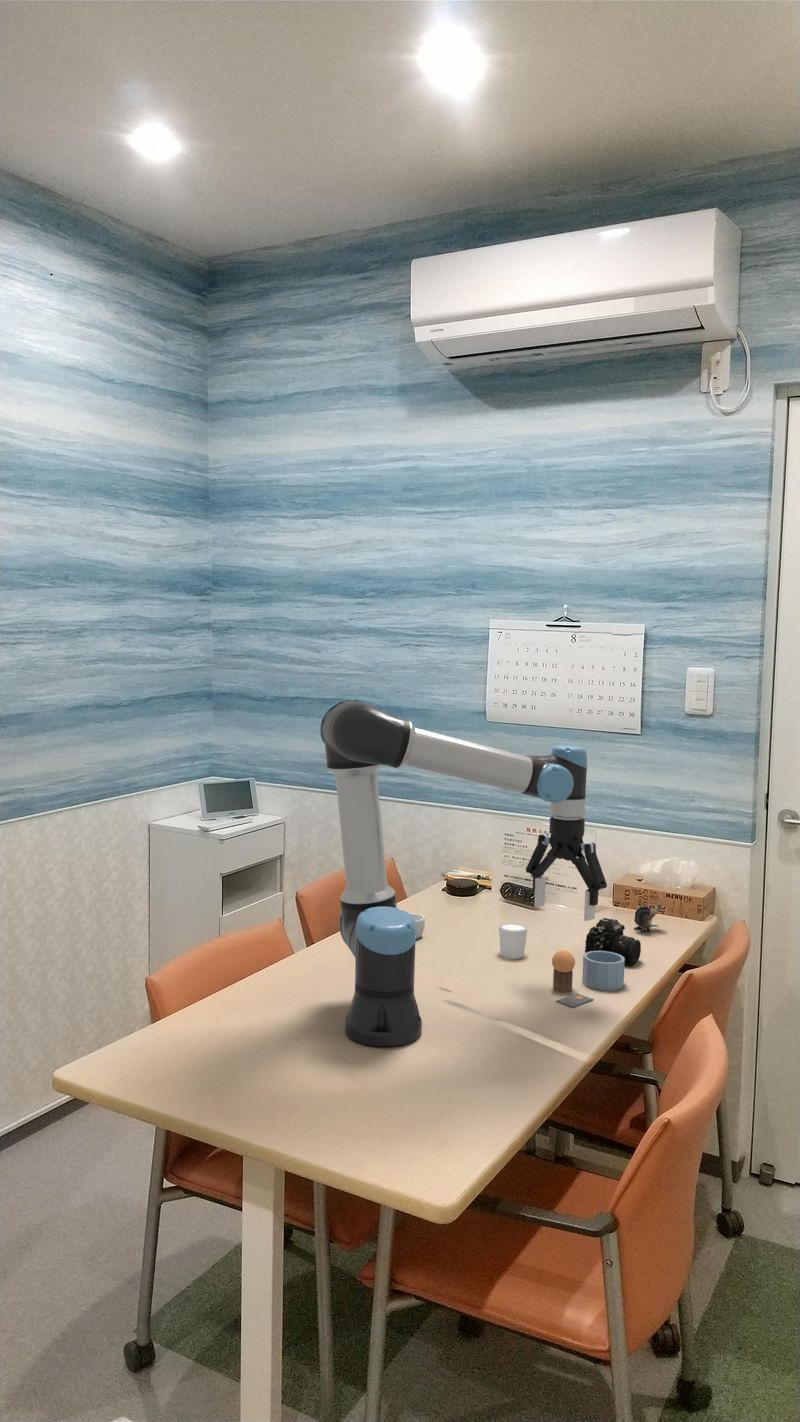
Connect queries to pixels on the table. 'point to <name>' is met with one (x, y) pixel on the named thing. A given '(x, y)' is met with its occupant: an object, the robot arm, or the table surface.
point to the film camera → (613, 940)
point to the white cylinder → (512, 940)
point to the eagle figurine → (646, 917)
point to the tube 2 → (603, 970)
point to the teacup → (418, 923)
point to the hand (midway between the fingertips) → (563, 912)
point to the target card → (574, 1000)
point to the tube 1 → (562, 981)
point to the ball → (563, 961)
